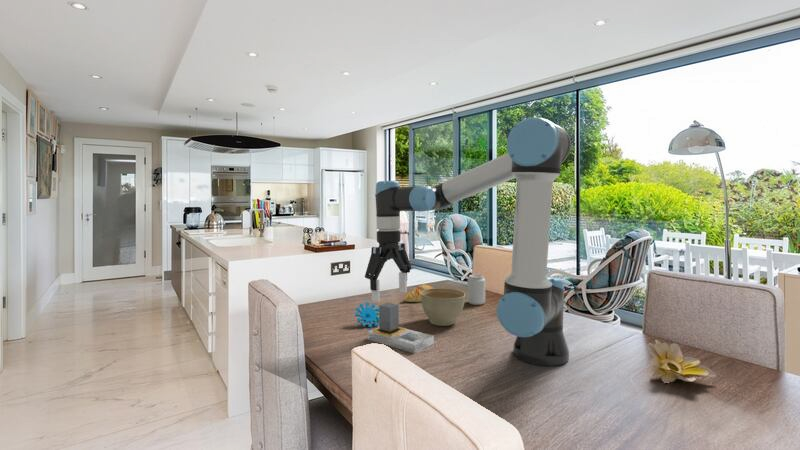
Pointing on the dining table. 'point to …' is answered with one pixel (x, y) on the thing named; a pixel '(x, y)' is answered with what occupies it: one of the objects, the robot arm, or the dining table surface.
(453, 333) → the dining table surface
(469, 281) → the can
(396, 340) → the grey slotted holder
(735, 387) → the dining table surface
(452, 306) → the planter bowl
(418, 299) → the croissant
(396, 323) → the peg
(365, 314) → the gear
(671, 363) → the decorative flower
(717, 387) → the dining table surface
